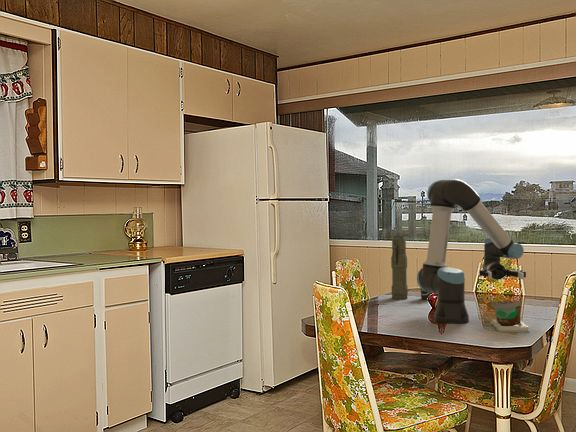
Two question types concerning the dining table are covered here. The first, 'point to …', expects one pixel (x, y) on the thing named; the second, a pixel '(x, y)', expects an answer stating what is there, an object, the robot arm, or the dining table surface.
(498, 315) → the food container
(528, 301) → the dining table surface
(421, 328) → the dining table surface
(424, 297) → the coffee cup
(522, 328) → the cream rectangular tray
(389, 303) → the dining table surface
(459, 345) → the dining table surface
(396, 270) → the olive brown statue
